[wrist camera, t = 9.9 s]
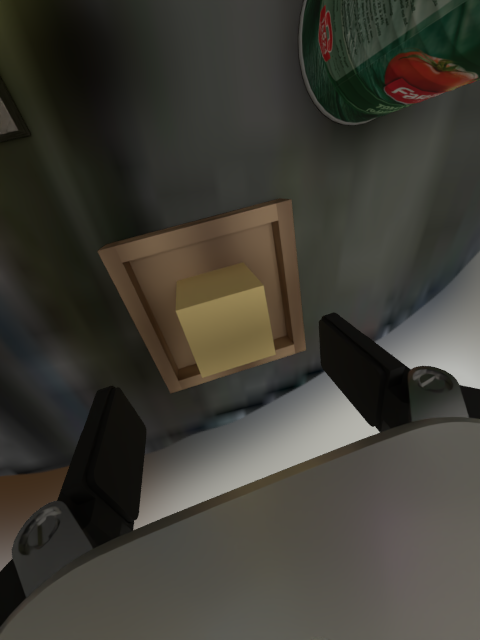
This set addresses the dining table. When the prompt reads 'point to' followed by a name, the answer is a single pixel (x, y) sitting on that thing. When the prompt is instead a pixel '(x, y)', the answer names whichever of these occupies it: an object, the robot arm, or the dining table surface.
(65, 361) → the dining table surface
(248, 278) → the ochre block
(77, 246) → the dining table surface
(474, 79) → the canned tomato
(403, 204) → the dining table surface
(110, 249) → the walnut tray
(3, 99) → the balance
